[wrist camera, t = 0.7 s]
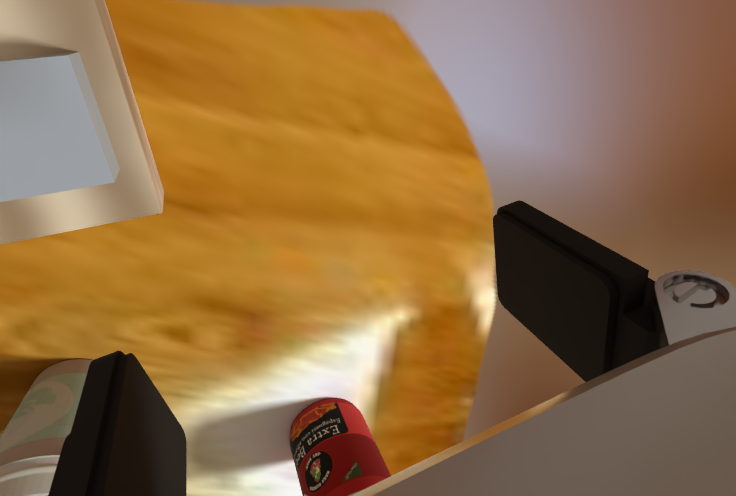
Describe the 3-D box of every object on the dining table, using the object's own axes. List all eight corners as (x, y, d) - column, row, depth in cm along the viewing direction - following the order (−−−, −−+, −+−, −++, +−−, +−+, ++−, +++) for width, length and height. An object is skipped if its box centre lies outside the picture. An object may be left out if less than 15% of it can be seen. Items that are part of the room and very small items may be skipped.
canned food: (326, 384, 43) (366, 483, 34) (375, 414, 47) (423, 510, 38) (270, 437, 43) (294, 550, 34) (324, 463, 48) (359, 569, 38)
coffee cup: (95, 323, 32) (57, 459, 22) (163, 394, 37) (157, 534, 27) (-23, 382, 31) (-119, 555, 21) (62, 449, 36) (17, 616, 26)
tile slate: (-7, 189, 23) (-24, 206, 21) (-69, 65, 20) (-97, 71, 18) (119, 168, 25) (114, 182, 23) (78, 51, 22) (68, 55, 20)
